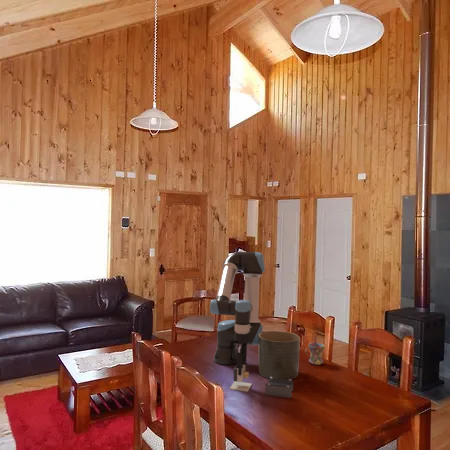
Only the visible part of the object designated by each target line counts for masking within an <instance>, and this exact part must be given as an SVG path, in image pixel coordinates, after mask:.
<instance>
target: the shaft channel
mask: <svg viewBox="0 0 450 450" xmlns="http://www.w3.org/2000/svg"><path fill="white" fill-rule="evenodd" d="M267 379H268V378H267ZM264 391H265V395H267V396H273V397H279V398H280V397H282V398H289V399H292V392H293V391H294V380H293V379H289V380H285V379H277V378H273V377H271V378H269V379H268V383H265V390H264Z"/></svg>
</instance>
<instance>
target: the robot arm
mask: <svg viewBox="0 0 450 450" xmlns="http://www.w3.org/2000/svg"><path fill="white" fill-rule="evenodd" d="M221 265H222V266H221V272H222V273H221V277H220V280H219V285H218V288H217V292H216V297H215V299H211V300H210V303H209V312H210V314H213V315H221V316H222V315H223V316H235V317H234V319H227V320H222V321H220V322H218V324H217V330H216V333H217V335H216V349H215V352H214V355H213V362H215V363H216V364H219V365H225V366H230V365H236V368H238V369H237V381H239V382H244V379H246V378H243V371H244V372H246V366H247V365H248V362H247V355H248V353H247V351H248V350H247V349H248V346H259V334H260V333H262V332H264V331H263V330H264V324H262V323H261V320H260V319H259V311H260V310H259V309H260V308H259V307H260V278H261V277H262V276H263V273H264V272H265V273H266V271H265V270H266V269H265V257H264V253H262V252H257V251H236V252H235V251H234V252H232V253H231V254H230V255H228V256H227V257H226V258H225V259H224V261H223V263H222V264H221ZM238 271H239V272H242V275H243V276H244V278H245V279H244V298H243V299H239V300H238V299H237V300H231V298H232V292H233V286H234V282H235V277H236V274H237V273H238Z"/></svg>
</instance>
